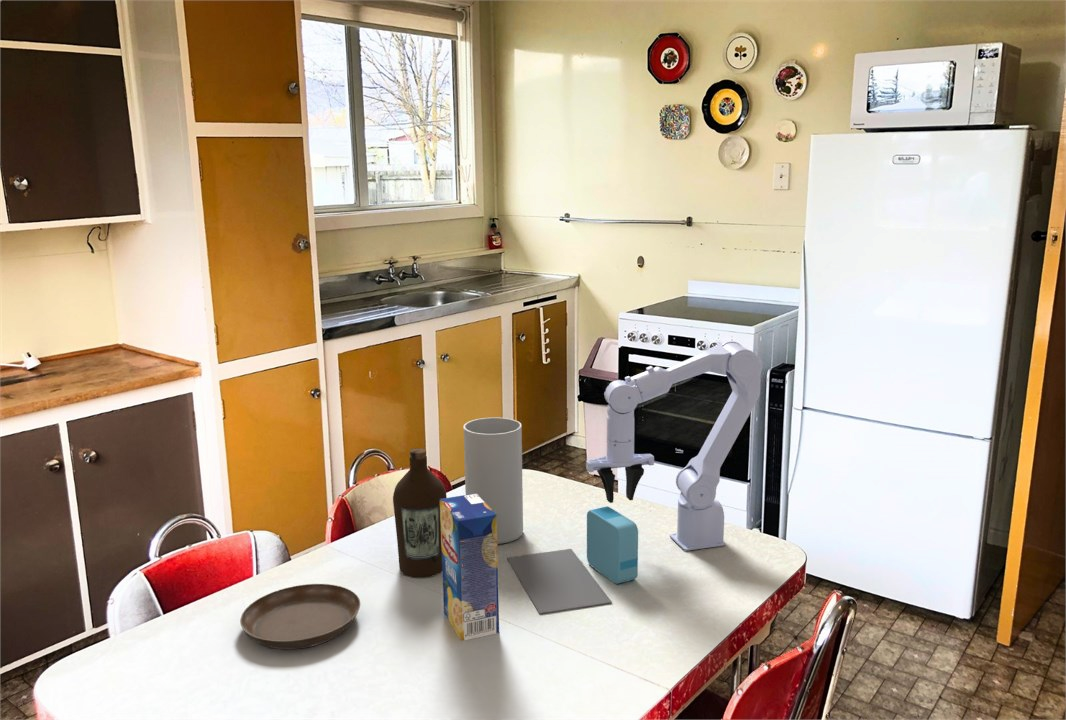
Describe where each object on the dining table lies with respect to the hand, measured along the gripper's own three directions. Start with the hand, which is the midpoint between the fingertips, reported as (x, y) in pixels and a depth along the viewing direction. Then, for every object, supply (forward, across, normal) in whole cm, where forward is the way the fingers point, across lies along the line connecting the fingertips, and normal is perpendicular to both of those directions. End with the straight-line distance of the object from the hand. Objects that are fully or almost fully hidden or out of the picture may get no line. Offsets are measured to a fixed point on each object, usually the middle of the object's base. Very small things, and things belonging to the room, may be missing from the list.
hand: (619, 499), depth 182 cm
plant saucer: (+11, +66, +14) cm, 68 cm away
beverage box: (+11, +37, +22) cm, 44 cm away
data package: (+11, +6, +11) cm, 16 cm away
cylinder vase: (+11, +24, -14) cm, 30 cm away
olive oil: (+11, +42, -2) cm, 43 cm away
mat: (+10, +18, +11) cm, 23 cm away
